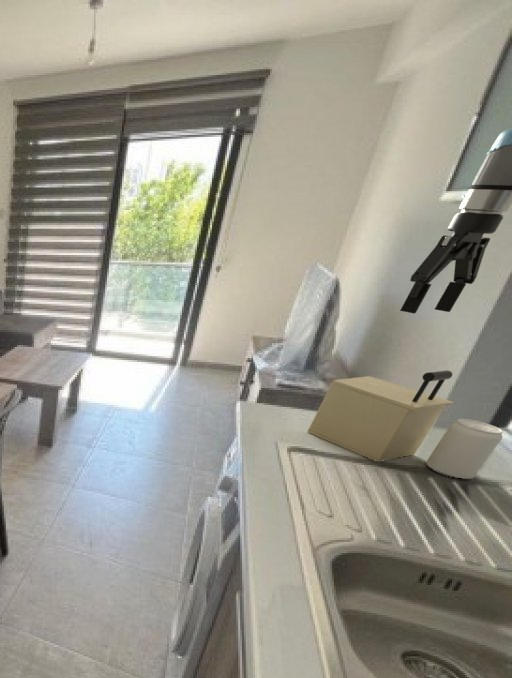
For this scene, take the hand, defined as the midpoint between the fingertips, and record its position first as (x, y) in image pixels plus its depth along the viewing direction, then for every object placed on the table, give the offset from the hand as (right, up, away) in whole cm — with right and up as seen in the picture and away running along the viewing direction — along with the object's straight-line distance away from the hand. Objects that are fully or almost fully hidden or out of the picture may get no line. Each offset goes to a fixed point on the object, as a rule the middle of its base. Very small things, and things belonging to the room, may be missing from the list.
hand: (425, 311), depth 115 cm
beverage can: (+2, -39, -3) cm, 39 cm away
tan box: (-8, -31, +9) cm, 34 cm away
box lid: (-7, -20, +2) cm, 21 cm away
